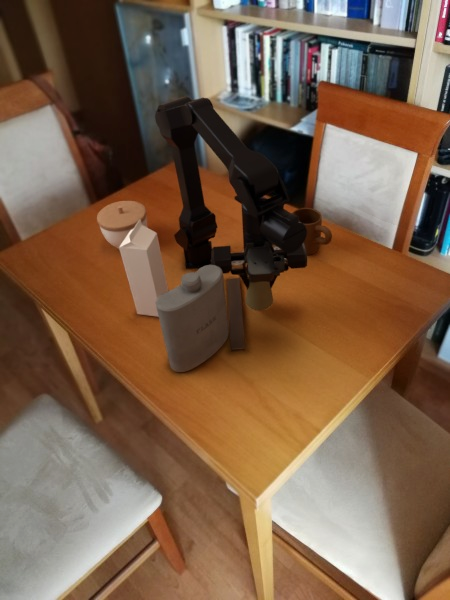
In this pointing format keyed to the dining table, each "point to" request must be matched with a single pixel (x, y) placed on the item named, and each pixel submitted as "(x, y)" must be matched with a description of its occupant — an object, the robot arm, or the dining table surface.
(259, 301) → the olive pepper mill
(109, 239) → the lidded bowl
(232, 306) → the walnut ruler
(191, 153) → the robot arm
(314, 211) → the mug
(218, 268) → the flask
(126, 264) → the milk
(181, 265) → the dining table surface
